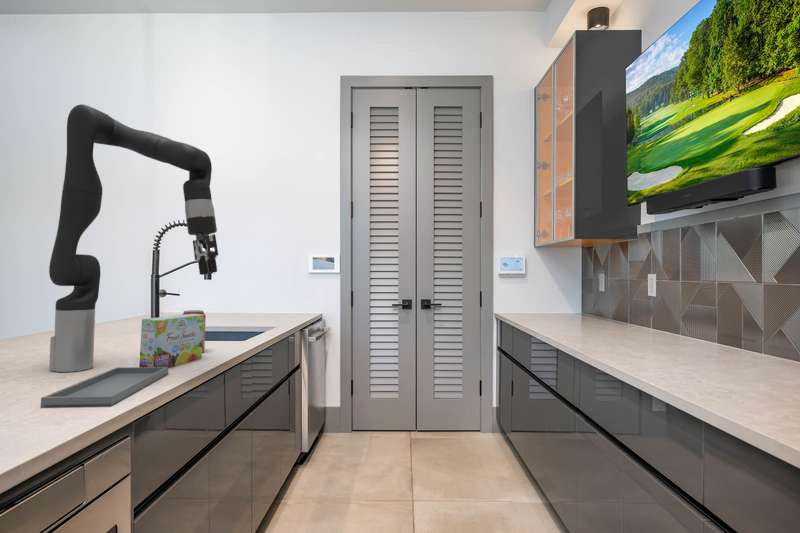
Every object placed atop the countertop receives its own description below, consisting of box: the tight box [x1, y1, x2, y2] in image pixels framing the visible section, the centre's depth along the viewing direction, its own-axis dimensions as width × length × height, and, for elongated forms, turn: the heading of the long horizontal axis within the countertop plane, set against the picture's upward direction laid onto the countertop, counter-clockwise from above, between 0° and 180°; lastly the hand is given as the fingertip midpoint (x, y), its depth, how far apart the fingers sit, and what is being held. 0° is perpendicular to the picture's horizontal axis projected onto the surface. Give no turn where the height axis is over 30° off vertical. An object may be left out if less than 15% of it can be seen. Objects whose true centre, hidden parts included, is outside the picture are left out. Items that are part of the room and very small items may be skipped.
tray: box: [40, 366, 169, 408], centre depth 105 cm, size 14×30×2 cm, turn 7°
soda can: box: [181, 309, 207, 352], centre depth 153 cm, size 8×8×15 cm
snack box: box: [139, 314, 204, 369], centre depth 133 cm, size 21×6×15 cm, turn 168°
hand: (208, 273), depth 122 cm, fingers open, 8 cm apart
